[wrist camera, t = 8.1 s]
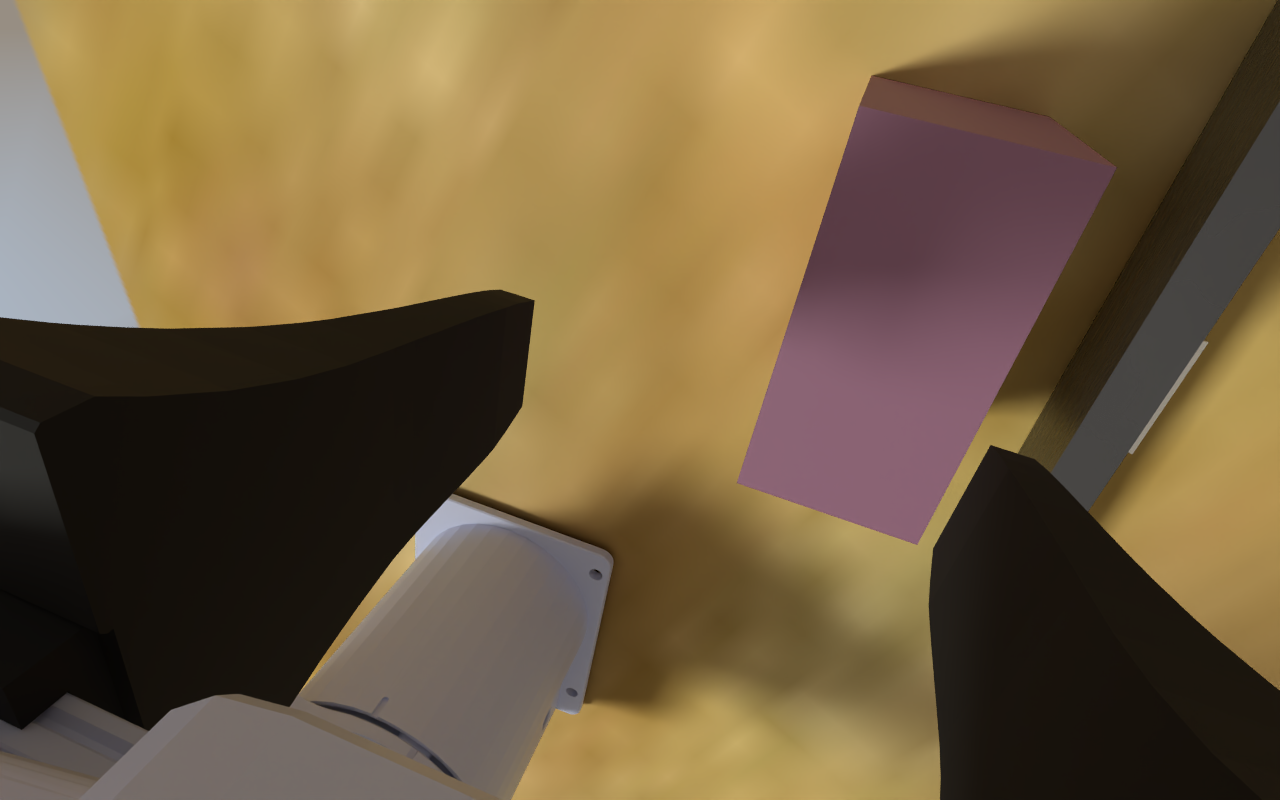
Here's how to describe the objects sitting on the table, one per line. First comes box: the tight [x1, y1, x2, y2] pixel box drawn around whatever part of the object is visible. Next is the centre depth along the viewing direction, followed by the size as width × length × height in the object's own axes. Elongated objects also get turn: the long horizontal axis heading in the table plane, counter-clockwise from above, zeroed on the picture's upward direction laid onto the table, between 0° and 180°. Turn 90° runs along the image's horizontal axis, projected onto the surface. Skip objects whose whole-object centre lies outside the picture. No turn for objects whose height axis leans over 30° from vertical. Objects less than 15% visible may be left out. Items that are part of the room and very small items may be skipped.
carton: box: [737, 76, 1117, 545], centre depth 16 cm, size 4×8×6 cm, turn 169°
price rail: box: [1018, 0, 1280, 511], centre depth 17 cm, size 18×2×2 cm, turn 169°
